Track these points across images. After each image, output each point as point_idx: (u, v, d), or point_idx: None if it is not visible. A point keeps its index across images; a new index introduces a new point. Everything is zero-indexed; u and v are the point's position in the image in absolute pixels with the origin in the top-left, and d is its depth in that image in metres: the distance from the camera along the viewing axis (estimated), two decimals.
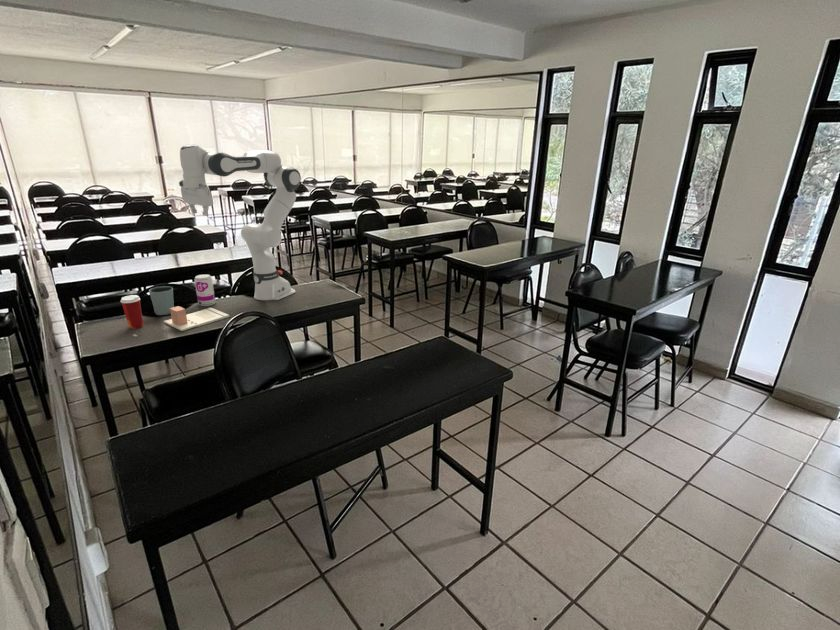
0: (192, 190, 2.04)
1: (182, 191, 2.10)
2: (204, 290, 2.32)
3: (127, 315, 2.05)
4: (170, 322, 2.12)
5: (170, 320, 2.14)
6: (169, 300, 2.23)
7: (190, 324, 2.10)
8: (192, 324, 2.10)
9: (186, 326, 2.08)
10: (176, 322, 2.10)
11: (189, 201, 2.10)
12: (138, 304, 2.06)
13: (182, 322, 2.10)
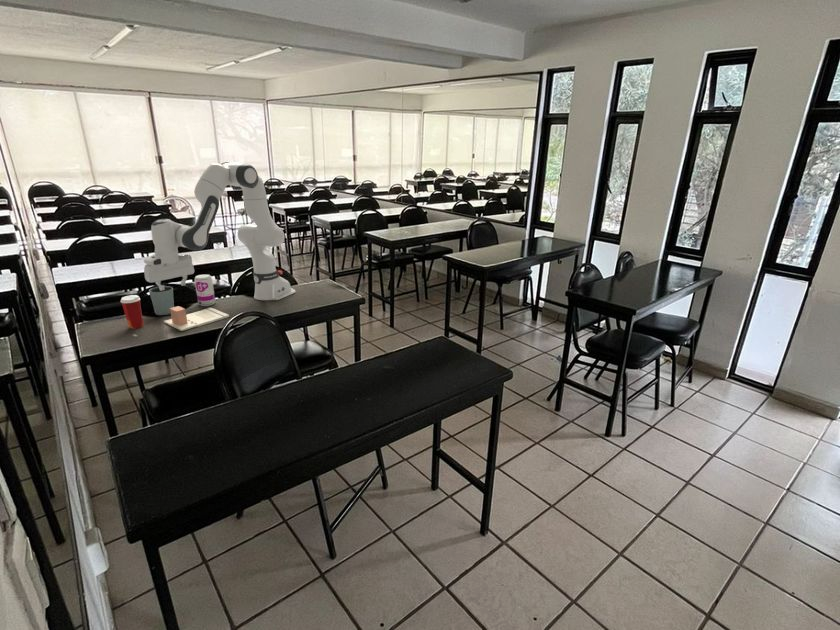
0: (175, 263, 2.01)
1: (152, 270, 1.95)
2: (204, 290, 2.32)
3: (127, 315, 2.05)
4: (170, 322, 2.12)
5: (170, 320, 2.14)
6: (169, 300, 2.23)
7: (190, 324, 2.10)
8: (192, 324, 2.10)
9: (186, 326, 2.08)
10: (176, 322, 2.10)
11: (163, 278, 1.99)
12: (138, 304, 2.06)
13: (182, 322, 2.10)
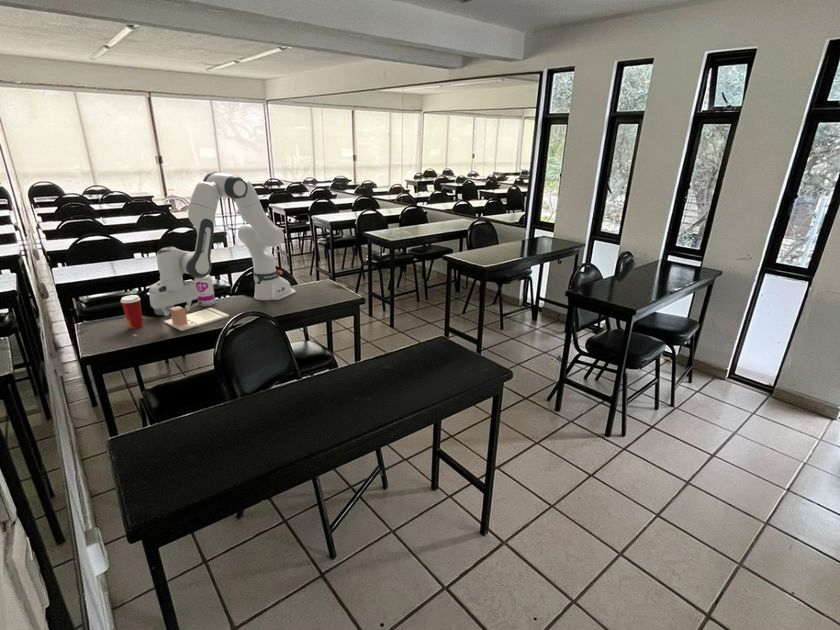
0: (180, 290, 2.06)
1: (157, 297, 1.99)
2: (204, 290, 2.32)
3: (127, 315, 2.05)
4: (170, 322, 2.12)
5: (170, 320, 2.14)
6: None
7: (190, 324, 2.10)
8: (192, 324, 2.10)
9: (186, 326, 2.08)
10: (176, 322, 2.10)
11: (168, 304, 2.04)
12: (138, 304, 2.06)
13: (182, 322, 2.10)
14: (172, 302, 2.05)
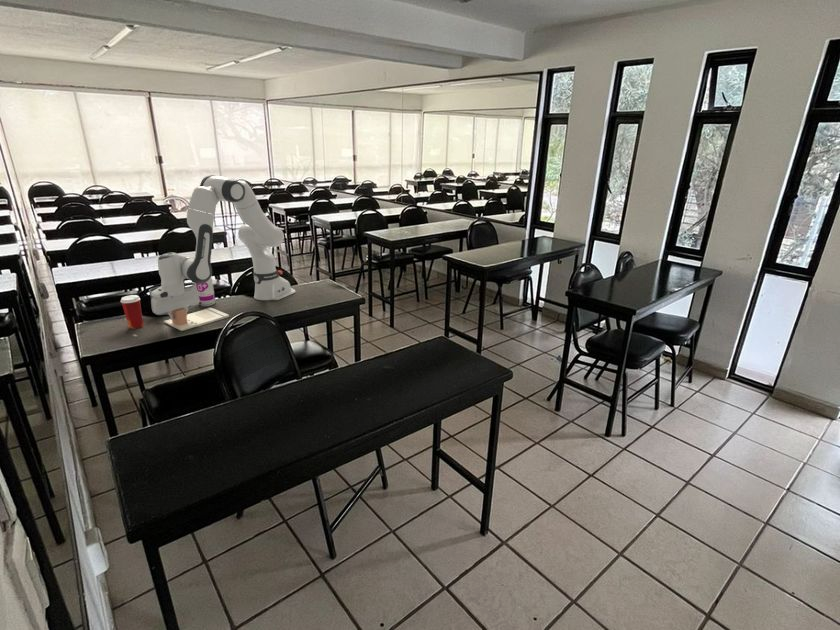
0: (181, 295, 2.07)
1: (159, 303, 2.00)
2: (204, 290, 2.32)
3: (127, 315, 2.05)
4: (170, 322, 2.12)
5: (170, 320, 2.14)
6: None
7: (190, 324, 2.10)
8: (192, 324, 2.10)
9: (186, 326, 2.08)
10: (176, 322, 2.10)
11: (169, 309, 2.05)
12: (138, 304, 2.06)
13: (182, 322, 2.10)
14: (173, 307, 2.06)
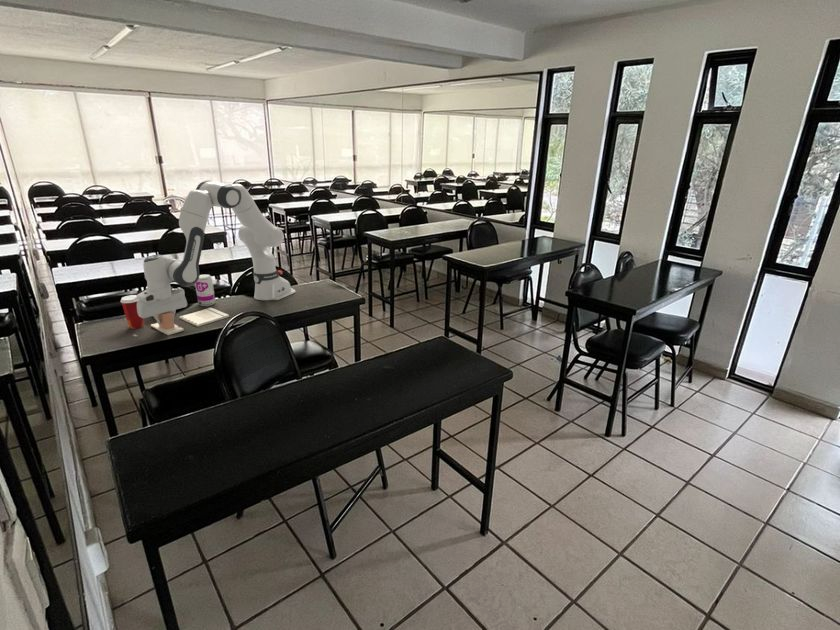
0: (168, 298, 2.02)
1: (144, 307, 1.96)
2: (204, 290, 2.32)
3: (127, 315, 2.05)
4: (157, 326, 2.08)
5: (157, 324, 2.10)
6: None
7: (177, 328, 2.06)
8: (179, 328, 2.06)
9: (173, 330, 2.04)
10: (163, 326, 2.05)
11: (156, 313, 2.00)
12: None
13: (169, 326, 2.05)
14: (160, 311, 2.02)
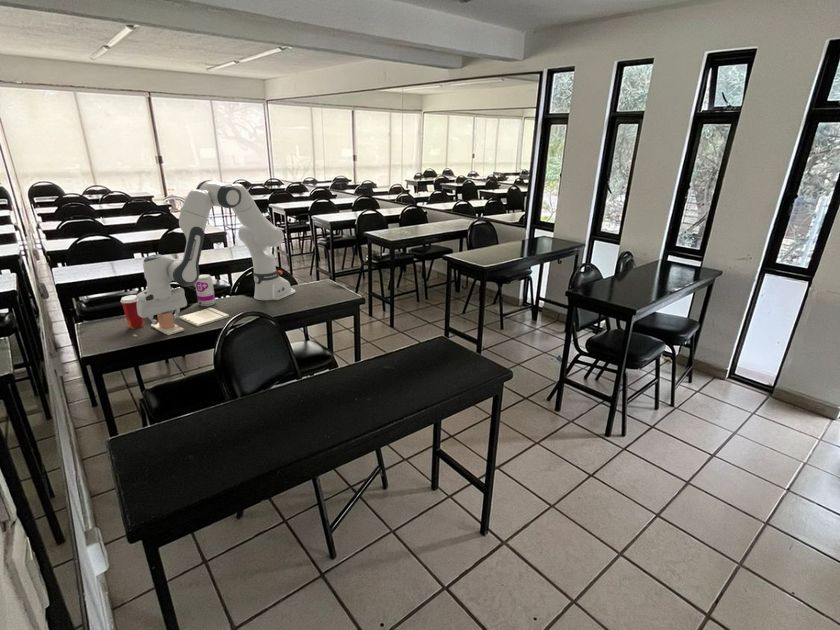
0: (168, 298, 2.02)
1: (144, 306, 1.96)
2: (204, 290, 2.32)
3: (127, 315, 2.05)
4: (157, 326, 2.08)
5: (157, 324, 2.10)
6: None
7: (177, 328, 2.06)
8: (179, 328, 2.06)
9: (173, 330, 2.04)
10: (163, 326, 2.05)
11: (155, 312, 2.00)
12: None
13: (169, 326, 2.05)
14: (160, 310, 2.02)
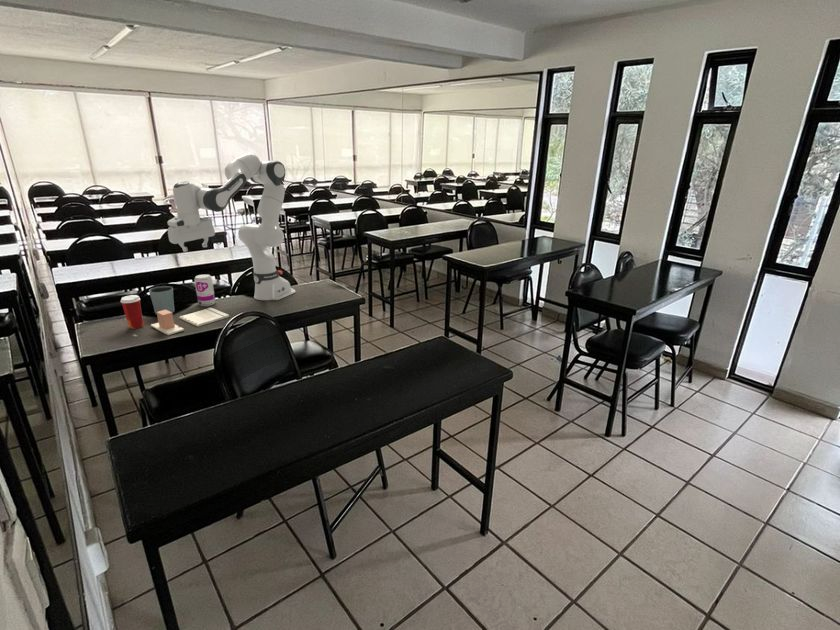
0: (197, 225, 2.08)
1: (175, 232, 2.01)
2: (204, 290, 2.32)
3: (127, 315, 2.05)
4: (157, 326, 2.08)
5: (157, 324, 2.10)
6: (169, 300, 2.23)
7: (177, 328, 2.06)
8: (179, 328, 2.06)
9: (173, 330, 2.04)
10: (163, 326, 2.05)
11: (186, 239, 2.06)
12: (138, 304, 2.06)
13: (169, 326, 2.05)
14: (190, 238, 2.07)
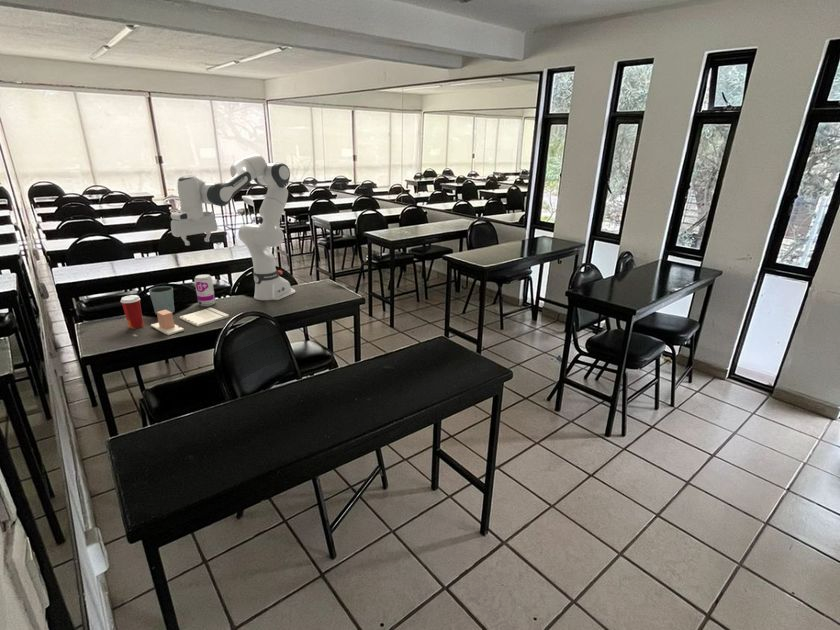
0: (200, 219, 2.09)
1: (178, 225, 2.02)
2: (204, 290, 2.32)
3: (127, 315, 2.05)
4: (157, 326, 2.08)
5: (157, 324, 2.10)
6: (169, 300, 2.23)
7: (177, 328, 2.06)
8: (179, 328, 2.06)
9: (173, 330, 2.04)
10: (163, 326, 2.05)
11: (189, 233, 2.07)
12: (138, 304, 2.06)
13: (169, 326, 2.05)
14: (192, 231, 2.08)
